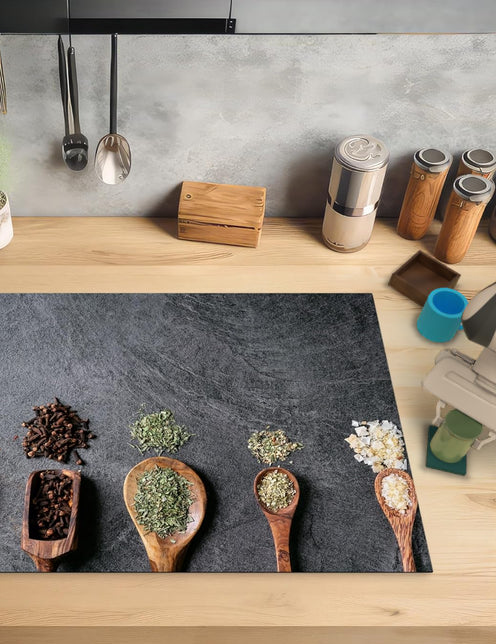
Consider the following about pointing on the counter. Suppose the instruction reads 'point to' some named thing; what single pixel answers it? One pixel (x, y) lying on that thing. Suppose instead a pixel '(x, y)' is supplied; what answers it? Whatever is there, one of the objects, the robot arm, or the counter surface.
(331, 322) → the counter surface
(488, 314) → the robot arm
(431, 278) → the tray
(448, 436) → the green pot
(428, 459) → the mat
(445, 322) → the mug
